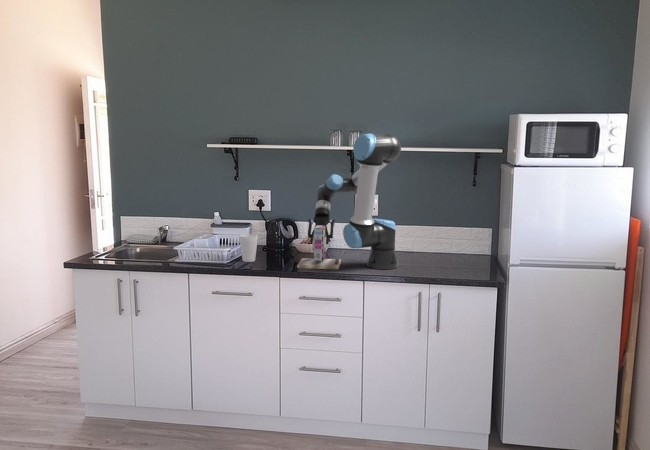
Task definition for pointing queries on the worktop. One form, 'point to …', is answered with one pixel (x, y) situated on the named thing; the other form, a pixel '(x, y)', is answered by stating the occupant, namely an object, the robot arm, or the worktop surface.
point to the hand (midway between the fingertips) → (318, 248)
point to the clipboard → (319, 263)
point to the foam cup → (248, 246)
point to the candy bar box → (319, 243)
